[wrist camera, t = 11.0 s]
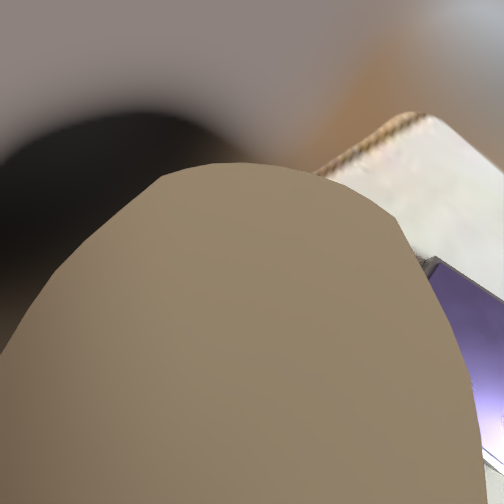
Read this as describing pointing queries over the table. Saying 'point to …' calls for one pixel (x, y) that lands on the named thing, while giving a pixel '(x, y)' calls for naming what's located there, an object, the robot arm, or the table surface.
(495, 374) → the ink pad
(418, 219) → the table surface
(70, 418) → the handle
